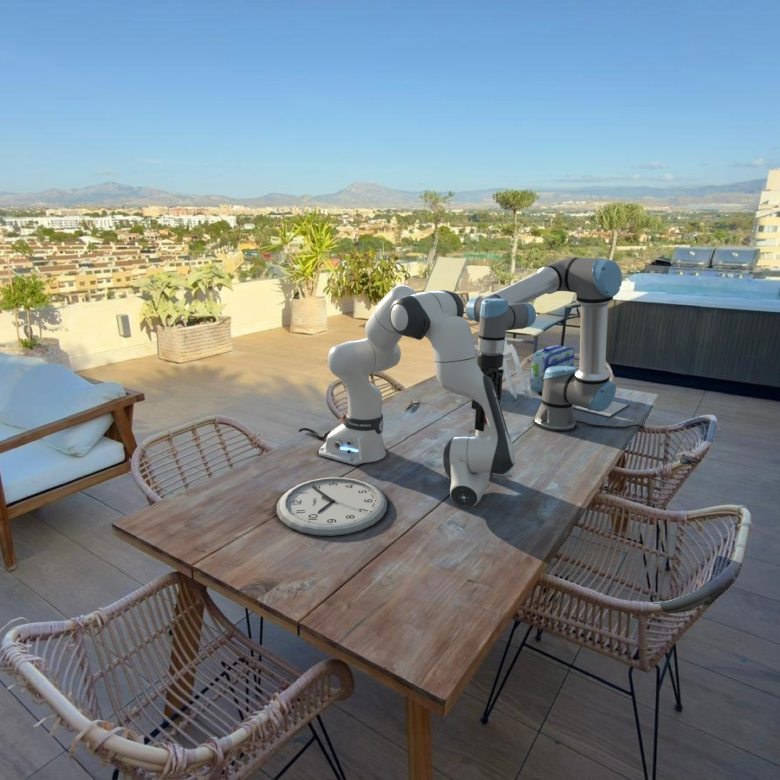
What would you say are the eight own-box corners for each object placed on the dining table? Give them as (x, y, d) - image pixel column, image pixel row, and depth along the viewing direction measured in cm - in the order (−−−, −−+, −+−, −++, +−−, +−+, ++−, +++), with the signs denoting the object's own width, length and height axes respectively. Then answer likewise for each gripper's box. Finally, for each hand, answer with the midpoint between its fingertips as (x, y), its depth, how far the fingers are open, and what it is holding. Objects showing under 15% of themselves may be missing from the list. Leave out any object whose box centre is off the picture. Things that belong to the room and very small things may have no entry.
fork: (403, 410, 217) (403, 406, 216) (415, 399, 231) (415, 395, 231) (409, 411, 216) (409, 406, 215) (420, 400, 230) (420, 395, 230)
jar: (488, 478, 160) (493, 420, 154) (471, 475, 161) (475, 417, 156) (490, 470, 165) (495, 414, 159) (474, 468, 166) (478, 412, 161)
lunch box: (546, 398, 236) (551, 353, 229) (525, 393, 243) (529, 349, 237) (573, 387, 253) (579, 344, 247) (553, 382, 260) (558, 341, 254)
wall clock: (392, 527, 129) (268, 531, 127) (391, 533, 130) (269, 537, 127) (383, 473, 158) (282, 475, 155) (383, 478, 158) (282, 480, 156)
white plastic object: (461, 429, 252) (437, 405, 227) (444, 352, 274) (420, 323, 250) (535, 404, 240) (518, 377, 215) (510, 326, 262) (492, 293, 237)
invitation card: (608, 416, 214) (573, 407, 224) (608, 416, 214) (573, 408, 224) (628, 404, 229) (594, 396, 238) (628, 405, 229) (594, 397, 238)
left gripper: (512, 467, 145) (518, 448, 158) (441, 456, 152) (451, 439, 164) (510, 488, 147) (516, 467, 160) (440, 476, 154) (450, 457, 166)
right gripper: (495, 345, 161) (490, 416, 168) (461, 356, 147) (457, 432, 154) (517, 349, 156) (511, 421, 163) (484, 360, 142) (479, 439, 149)
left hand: (483, 453), depth 162 cm, fingers closed on jar, 5 cm apart
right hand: (484, 426), depth 158 cm, fingers closed on lid, 6 cm apart
